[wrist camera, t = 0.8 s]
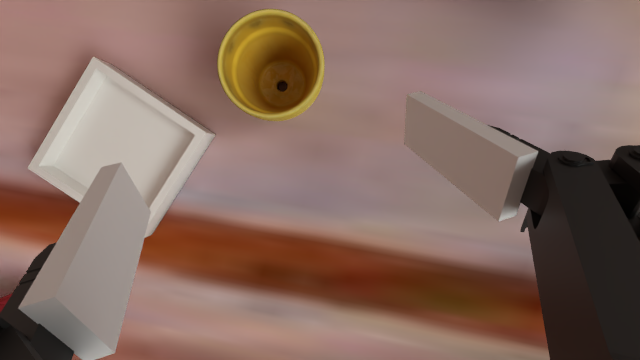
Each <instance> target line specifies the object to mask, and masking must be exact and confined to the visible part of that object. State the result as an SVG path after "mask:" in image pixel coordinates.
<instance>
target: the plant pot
mask: <svg viewBox="0 0 640 360" xmlns="http://www.w3.org/2000/svg"><path fill="white" fill-rule="evenodd" d="M217 69H218V75H219V79H220V82H221V85H222V87H223V89H224V91H225V93H226V94H227V96H228V97H229V99H230V100H231V101H232V102H233V103H234V104H235V105H236V106H237V107H238V108H240V109H241V110H242V111H244V112H246V113H248V114H250V115H252V116H254V117H257V118H259V119H263V120H268V121H283V120H288V119H291V118H294V117H296V116H298V115H300V114H301V113H303V112H304V111H305V110H307V109H308V108H309V107H310V106H311V105H312V103H313V102H314V101H315V99H316V98H317V96H318V94H319V92H320V89H321V87H322V83H323V78H324V55H323V50H322V47H321V44H320V42H319V39H318V37H317V36H316V34H315V33H314V31H313V30H312V29H311V27H310V26H309V25H308V24H307V23H306V22H305V21H303V20H302V19H301V18H299V17H297V16H296V15H294V14H292V13H290V12H287V11H283V10H278V9H263V10H258V11H254V12H252V13H249V14H247V15H245V16H244V17H242V18H241V19H239V20H238V21H237V22H236V23H235V24H234V25H233V26H232V27H231V28H230V29H229V30H228V32H227V33H226V35H225V36H224V38H223V40H222V43H221V45H220V48H219V52H218V59H217ZM280 82H285V83H287V86H288V87H287V89H286V90H285V91H284V92H281V91H279V90H278V84H279V83H280Z"/></svg>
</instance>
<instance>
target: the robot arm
mask: <svg viewBox="0 0 640 360" xmlns="http://www.w3.org/2000/svg"><path fill="white" fill-rule="evenodd" d="M404 144H405V145H406V146H407V147H409V148H410V149H411V150H412V151H413V152H415V153H416V154H417V155H418V156H420V157H421V158H422V159H423V160H424V161H426V162H427V163H428V164H429V165H430V166H432V167H433V168H434V169H435V170H437V171H438V172H439V173H440V174H441V175H443V176H444V177H445V178H446V179H447V180H449V181H450V182H451V183H452V184H454V185H455V186H456V187H457V188H458V189H460V190H461V191H462V192H463V193H464V194H466V195H467V196H468V197H469V198H471V199H472V200H473V201H474V202H475V203H477V204H478V205H479V206H480V207H481V208H483V209H484V210H485V211H486V212H488V213H489V214H490V215H491V216H492V217H494V218H495V219H496V220H497V221H498V222H499V221H502V220H504V219H507V218H510V217H513V216H516V214H517V211H518V208H519V205H520V203H522V204H524V205H525V206H527V207H528V211H527V214H526V216H525V219H524V221H523V224H522V227H521V231H520V232H524V231H525V228H526V227H528V231H529V237H530V243H531V249H532V255H533V261H534V266H535V272H536V278H537V284H538V290H539V296H540V302H541V308H542V314H543V320H544V326H545V332H546V337H547V343H548V349H549V355H550V360H640V145H637V146H631V145H628V146H621V147H619V148H617V149H616V151H615V153H614V155H613V157H612V159H611V160H602V161H595V160H594V159H593V158H591V157H589V156H587V155H584V154H581V153H578V152H572V151H556V152H552V153H551V154H550V153H548V152H546V151H544V150H542V149H540V148H538V147H536V146H534V145H532V144H530V143H528V142H526V141H524V140H522V139H519V138H518V137H516V136H514V135H510V133H508V132H506V131H504V130H502V129H500V128H497V127H493V126H489V125H486V124H484V123H482V122H480V121H478V120H476V119H474V118H472V117H470V116H468V115H466V114H464V113H463V112H461V111H459V110H457V109H455V108H453V107H451V106H449V105H447V104H445V103H443V102H441V101H439V100H437V99H435V98H433V97H431V96H429V95H427V94H425V93H423V92H421V91H419V92H415V93H411V94H407V98H406V118H405V138H404ZM150 214H151V211H150V210H149V208H148V206H147V205H146V203H145V201H144V200H143V198H142V196H141V195H140V193H139V191H138V189H137V188H136V186H135V184H134V183H133V181H132V179H131V178H130V176H129V174H128V173H127V171H126V169H125V168H124V166H123V164H122V163H121V162H120V163H116V164H112V165H108V166H104V167H101V168H100V170H99V172H98V174H97V175H96V177H95V179H94V180H93V182H92V184H91V185H90V187H89V189H88V190H87V192H86V194H85V196H84V197H83V199H82V201H81V202H80V204H79V206H78V207H77V209H76V211H75V213H74V214H73V216H72V218H71V219H70V221H69V223H68V224H67V226H66V228H65V229H64V231H63V233H62V235H61V236H60V238H59V240H58V241H57V243H54V244H50V245H48V246H47V247H46V248H45V249H44V250H43V251H42V252H41V253H40V254H39V255H38V256H37V257H36V258H35V259H34V260H33V262H32V264H31V265H30V267H29V268H28V270H27V271H26V272H27V274H25V275H24V276H23V278H22V279H21V281H20V282H19V284H20V285H19V286H17V287H16V289H15V290H14V292H13V293H12V295H11V297H10V298H9V300H8V301H7V303H6V304H5V306H4V308H3V309H2V311H1V312H0V360H71V359H72V356H73V354H76V355H77V356H78V357H79V358H81V359H82V360H96V359H99V358H102V357H104V356H107V355H110V354H113V353H115V351H116V347H117V343H118V339H119V335H120V331H121V327H122V323H123V319H124V316H125V312H126V308H127V304H128V300H129V296H130V292H131V288H132V284H133V280H134V277H135V273H136V269H137V265H138V261H139V257H140V253H141V249H142V245H143V241H144V238H145V234H146V230H147V226H148V222H149V218H150Z"/></svg>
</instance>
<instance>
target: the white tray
mask: <svg viewBox="0 0 640 360" xmlns="http://www.w3.org/2000/svg"><path fill="white" fill-rule="evenodd" d="M214 137H215V134H214V133H213V132H211V131H210V130H208V129H207V128H205V127H204V126H202V125H201V124H199V123H198V122H196V121H195V120H193V119H192V118H190V117H189V116H187V115H186V114H184V113H183V112H181V111H180V110H178V109H177V108H175V107H174V106H173V105H171V104H170V103H168V102H167V101H165V100H164V99H162V98H161V97H159V96H158V95H156V94H155V93H153V92H152V91H150V90H149V89H147V88H146V87H144V86H143V85H141V84H140V83H138V82H137V81H135V80H134V79H132V78H131V77H130V76H128V75H127V74H125V73H124V72H122V71H121V70H119V69H118V68H116V67H115V66H113V65H112V64H110V63H107V62H105V61H103V60H100V59H98V58H96V57H93V58H92V59H91V61H90V63H89V65H88V66H87V68H86V70H85V71H84V73H83V75H82V76H81V78H80V80H79V82H78V83H77V85H76V87H75V88H74V90H73V92H72V93H71V95H70V97H69V99H68V100H67V102H66V104H65V105H64V107H63V109H62V110H61V112H60V114H59V115H58V117H57V119H56V121H55V122H54V124H53V126H52V127H51V129H50V131H49V132H48V134H47V136H46V138H45V139H44V141H43V143H42V144H41V146H40V148H39V149H38V151H37V153H36V155H35V156H34V158H33V160H32V161H31V163H30V165H29V166H28V169H29V170H31V171H32V172H34V173H35V174H37V175H38V176H40V177H41V178H43V179H44V180H46V181H48V182H49V183H51V184H52V185H54V186H55V187H57V188H58V189H60V190H61V191H63V192H64V193H66V194H67V195H69V196H70V197H72V198H73V199H75V200H77V201H78V202H81V201H82V199H83V197H84V196H85V194H86V192H87V190H88V189H89V187H90V185H91V184H92V182H93V180H94V179H95V177H96V175H97V174H98V172H99V170H100V168H101V167H104V166H108V165H112V164H116V163H120V162H121V163H122V164H123V166H124V168H125V169H126V171H127V173H128V174H129V176H130V178H131V179H132V181H133V183H134V184H135V186H136V188H137V189H138V191H139V193H140V195H141V196H142V198H143V200H144V201H145V203H146V205H147V206H148V208H149V210H150V211H151V214H150V218H149V222H148V226H147V230H146V234H145V237H147V236H150V235H152V234H153V232H154V231H155V229H156V227H157V226H158V224H159V223H160V221H161V220H162V218H163V216H164V215H165V213H166V212H167V210H168V209H169V207H170V206H171V204H172V202H173V201H174V199H175V198H176V196H177V195H178V193H179V192H180V190H181V188H182V187H183V185H184V184H185V182H186V181H187V179H188V177H189V176H190V174H191V173H192V171H193V170H194V168H195V167H196V165H197V163H198V162H199V160H200V159H201V157H202V156H203V154H204V152H205V151H206V149H207V148H208V146H209V145H210V143H211V142H212V140H213V138H214Z"/></svg>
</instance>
